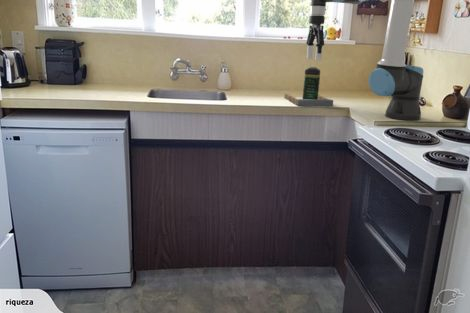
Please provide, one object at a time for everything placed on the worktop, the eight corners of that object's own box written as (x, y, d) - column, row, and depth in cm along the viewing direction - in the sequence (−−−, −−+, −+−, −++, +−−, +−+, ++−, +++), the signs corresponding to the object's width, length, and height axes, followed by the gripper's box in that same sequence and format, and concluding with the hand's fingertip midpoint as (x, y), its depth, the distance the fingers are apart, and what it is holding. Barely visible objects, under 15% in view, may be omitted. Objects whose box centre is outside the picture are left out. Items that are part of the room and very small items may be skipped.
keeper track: (331, 105, 218) (331, 100, 218) (296, 105, 216) (296, 100, 215) (315, 98, 241) (316, 93, 240) (284, 97, 238) (284, 93, 238)
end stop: (332, 106, 216) (333, 100, 215) (297, 106, 213) (298, 100, 212) (330, 105, 219) (331, 99, 218) (296, 104, 216) (296, 99, 215)
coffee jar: (316, 105, 218) (320, 68, 212) (301, 104, 219) (304, 67, 214) (318, 102, 227) (321, 66, 221) (303, 101, 228) (306, 66, 223)
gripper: (333, 14, 199) (329, 61, 205) (316, 16, 223) (312, 57, 229) (318, 14, 198) (314, 60, 204) (302, 16, 222) (299, 57, 228)
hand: (313, 59), depth 217 cm, fingers open, 13 cm apart
